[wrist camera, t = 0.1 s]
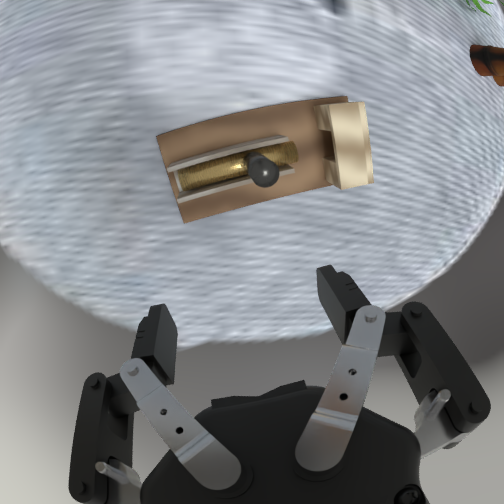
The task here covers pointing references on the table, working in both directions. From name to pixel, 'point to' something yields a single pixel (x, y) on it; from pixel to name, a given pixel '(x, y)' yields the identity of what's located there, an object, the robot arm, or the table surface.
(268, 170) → the brass sliding bolt
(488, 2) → the decorative plant
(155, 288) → the table surface
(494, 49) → the binoculars
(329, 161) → the guide
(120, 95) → the table surface
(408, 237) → the table surface
